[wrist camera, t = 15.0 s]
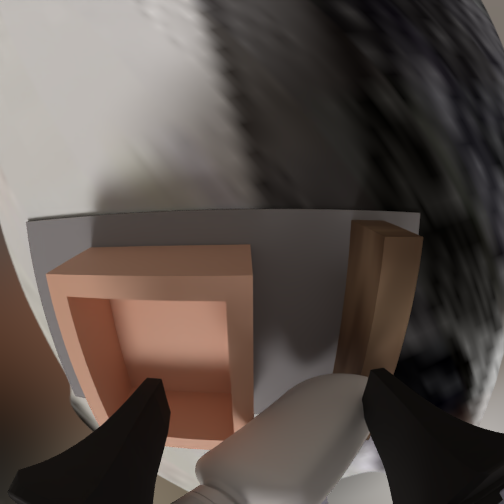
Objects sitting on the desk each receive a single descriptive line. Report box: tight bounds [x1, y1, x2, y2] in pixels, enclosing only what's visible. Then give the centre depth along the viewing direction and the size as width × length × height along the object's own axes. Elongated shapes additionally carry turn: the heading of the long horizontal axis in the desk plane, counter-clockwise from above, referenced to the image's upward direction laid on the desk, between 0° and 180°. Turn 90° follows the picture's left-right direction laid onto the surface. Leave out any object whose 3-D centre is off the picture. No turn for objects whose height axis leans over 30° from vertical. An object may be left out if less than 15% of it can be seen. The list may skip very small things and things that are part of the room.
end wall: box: [333, 220, 423, 440], centre depth 14 cm, size 13×2×4 cm, turn 0°
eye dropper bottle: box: [171, 373, 370, 504], centre depth 9 cm, size 4×6×12 cm
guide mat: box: [26, 209, 420, 414], centre depth 16 cm, size 14×24×1 cm, turn 90°
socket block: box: [46, 244, 254, 450], centre depth 14 cm, size 10×9×4 cm
